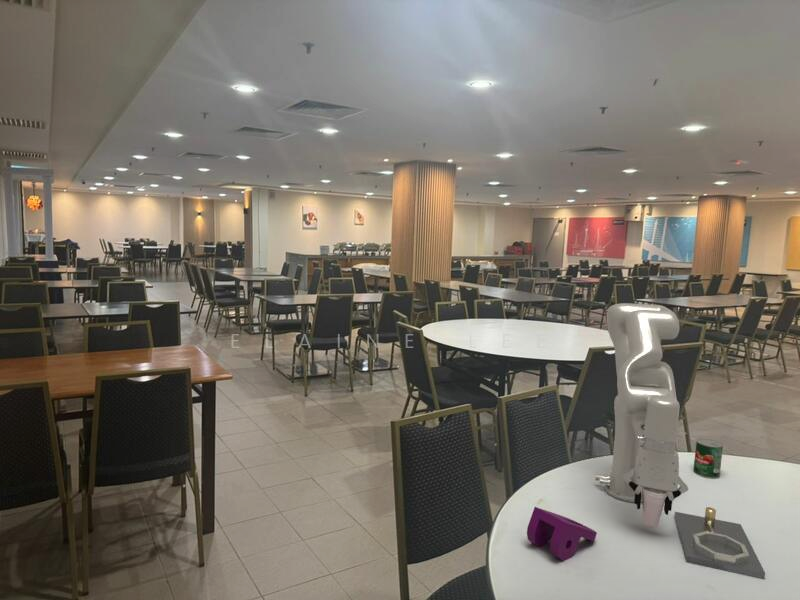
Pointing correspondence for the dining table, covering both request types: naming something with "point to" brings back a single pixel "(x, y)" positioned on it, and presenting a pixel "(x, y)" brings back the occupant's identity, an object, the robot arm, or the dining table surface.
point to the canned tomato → (708, 458)
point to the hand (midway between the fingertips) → (652, 508)
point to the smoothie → (652, 505)
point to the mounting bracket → (557, 533)
